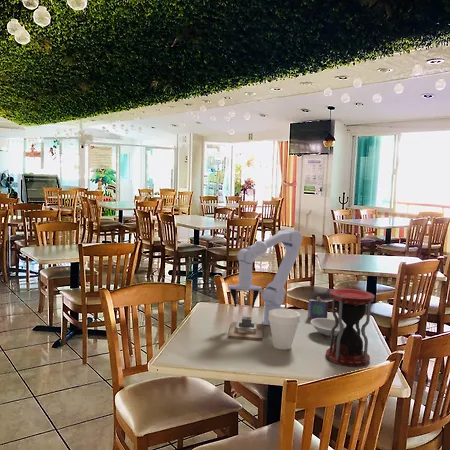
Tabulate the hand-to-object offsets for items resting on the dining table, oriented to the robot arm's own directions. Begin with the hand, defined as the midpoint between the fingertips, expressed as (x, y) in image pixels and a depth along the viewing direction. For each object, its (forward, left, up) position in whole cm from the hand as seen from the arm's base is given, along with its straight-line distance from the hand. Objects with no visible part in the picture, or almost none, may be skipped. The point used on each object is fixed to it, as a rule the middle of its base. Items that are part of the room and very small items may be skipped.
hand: (244, 306), depth 211 cm
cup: (-17, +21, -10) cm, 28 cm away
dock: (-2, +6, -9) cm, 11 cm away
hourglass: (-41, +29, -10) cm, 51 cm away
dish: (-37, +3, -10) cm, 38 cm away
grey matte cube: (-2, +6, -8) cm, 10 cm away
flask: (-35, -21, -10) cm, 42 cm away
